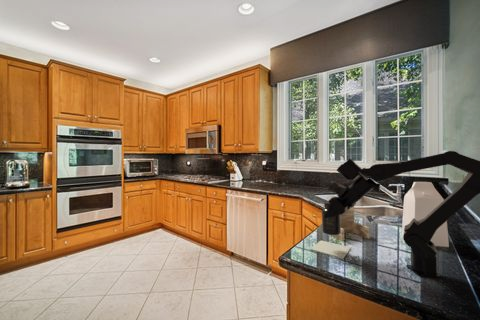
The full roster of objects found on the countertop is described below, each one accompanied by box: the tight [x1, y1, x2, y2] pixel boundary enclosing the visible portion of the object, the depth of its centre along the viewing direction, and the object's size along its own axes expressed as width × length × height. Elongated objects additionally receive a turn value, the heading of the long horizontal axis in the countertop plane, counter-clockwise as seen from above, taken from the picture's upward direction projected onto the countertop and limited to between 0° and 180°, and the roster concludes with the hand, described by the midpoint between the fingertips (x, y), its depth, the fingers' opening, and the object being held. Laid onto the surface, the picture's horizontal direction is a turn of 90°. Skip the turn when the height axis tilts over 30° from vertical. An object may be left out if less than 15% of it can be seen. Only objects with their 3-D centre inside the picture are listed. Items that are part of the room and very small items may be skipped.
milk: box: [401, 181, 450, 248], centre depth 94 cm, size 12×12×26 cm
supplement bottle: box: [321, 201, 341, 236], centre depth 84 cm, size 7×7×12 cm
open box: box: [331, 205, 370, 241], centre depth 100 cm, size 11×14×13 cm
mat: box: [310, 240, 352, 260], centre depth 84 cm, size 12×12×1 cm
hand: (327, 215), depth 85 cm, fingers closed on supplement bottle, 7 cm apart
